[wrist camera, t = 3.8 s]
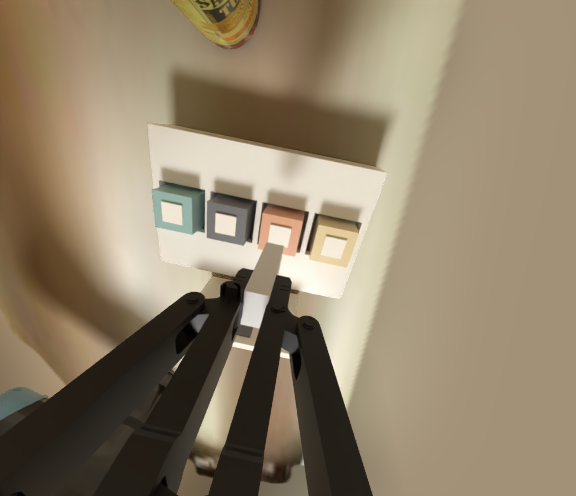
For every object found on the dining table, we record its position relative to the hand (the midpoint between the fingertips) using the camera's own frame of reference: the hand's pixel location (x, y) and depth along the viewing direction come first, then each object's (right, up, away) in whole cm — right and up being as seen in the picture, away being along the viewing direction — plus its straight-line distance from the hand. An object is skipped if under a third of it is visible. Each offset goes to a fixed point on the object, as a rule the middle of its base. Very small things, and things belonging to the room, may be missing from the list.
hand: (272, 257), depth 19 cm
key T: (+6, +3, +8) cm, 11 cm away
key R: (-11, +6, +8) cm, 15 cm away
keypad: (-2, +6, +11) cm, 12 cm away
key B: (+1, +4, +8) cm, 9 cm away
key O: (-5, +5, +8) cm, 11 cm away
